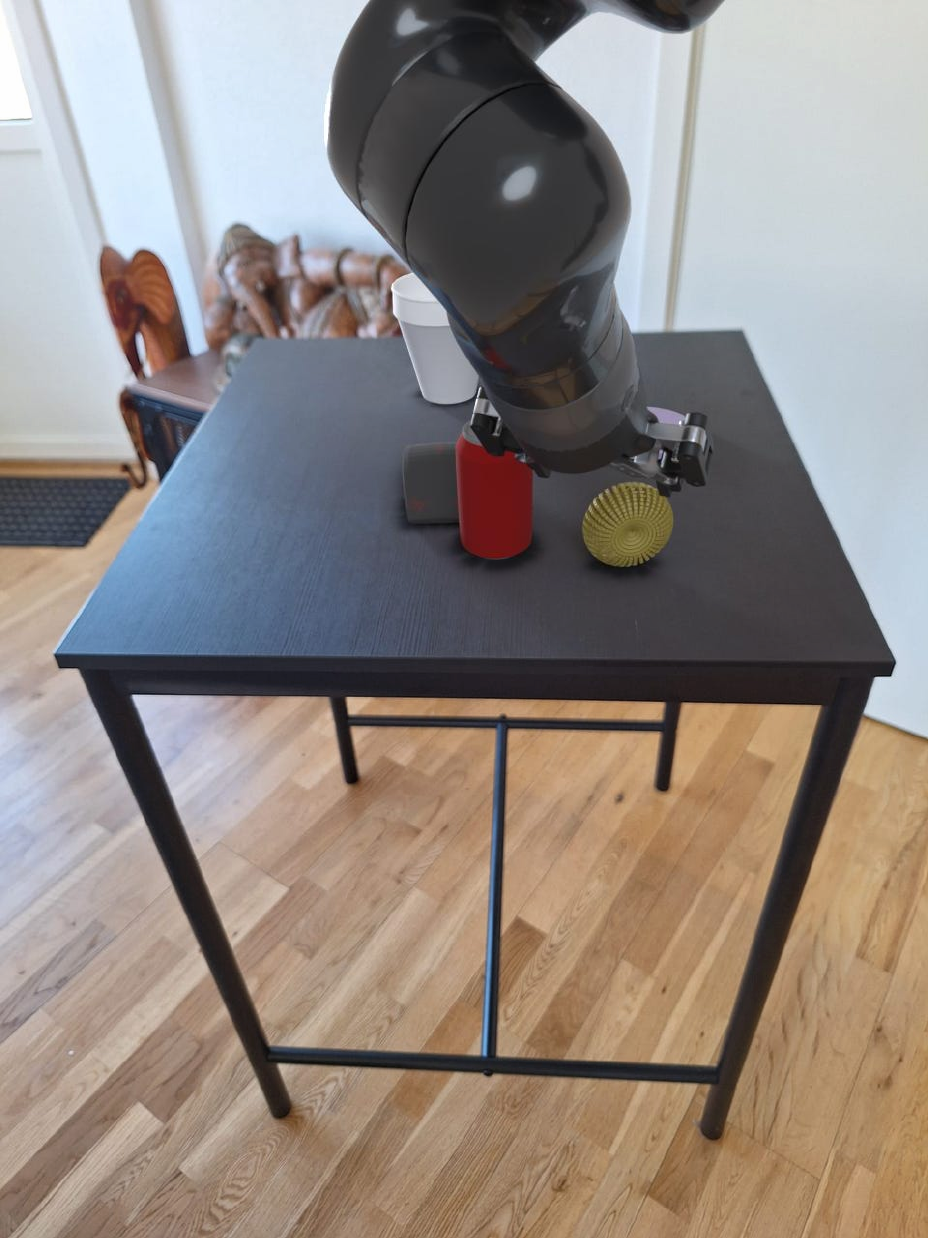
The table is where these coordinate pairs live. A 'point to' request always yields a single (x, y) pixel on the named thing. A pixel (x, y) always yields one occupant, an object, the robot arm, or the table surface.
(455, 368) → the cup
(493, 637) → the table surface
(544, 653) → the table surface
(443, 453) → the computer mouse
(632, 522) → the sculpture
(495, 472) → the beverage can
